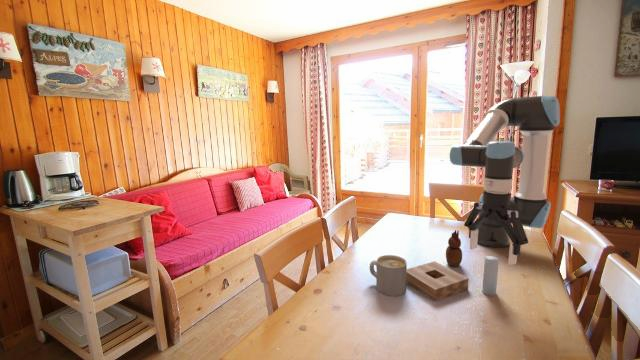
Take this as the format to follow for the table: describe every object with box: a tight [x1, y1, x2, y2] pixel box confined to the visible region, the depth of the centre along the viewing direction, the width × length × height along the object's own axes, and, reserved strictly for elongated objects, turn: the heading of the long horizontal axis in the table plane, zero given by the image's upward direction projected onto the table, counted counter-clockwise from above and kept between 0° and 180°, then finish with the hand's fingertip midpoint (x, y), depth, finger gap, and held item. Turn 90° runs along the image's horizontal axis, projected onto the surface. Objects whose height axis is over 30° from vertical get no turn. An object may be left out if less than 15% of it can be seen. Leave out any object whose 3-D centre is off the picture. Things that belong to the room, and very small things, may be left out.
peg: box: [481, 255, 500, 297], centre depth 102 cm, size 4×4×12 cm
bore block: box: [406, 260, 469, 302], centre depth 109 cm, size 15×15×4 cm
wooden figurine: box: [445, 229, 463, 268], centre depth 122 cm, size 7×6×15 cm
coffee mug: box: [369, 254, 408, 297], centre depth 108 cm, size 13×10×10 cm
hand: (491, 255), depth 101 cm, fingers open, 13 cm apart
